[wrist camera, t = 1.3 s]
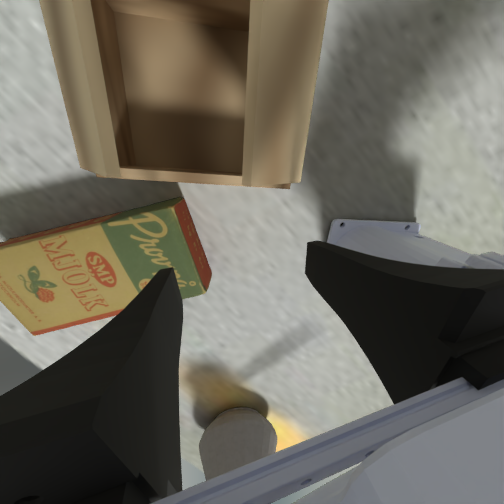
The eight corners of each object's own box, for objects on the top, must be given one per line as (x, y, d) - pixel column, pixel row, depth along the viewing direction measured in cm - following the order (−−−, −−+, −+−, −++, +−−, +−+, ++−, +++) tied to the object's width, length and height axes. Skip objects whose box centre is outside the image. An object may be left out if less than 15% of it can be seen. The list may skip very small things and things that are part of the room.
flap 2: (321, -16, 10) (331, -20, 10) (293, 181, 13) (300, 182, 13) (258, -164, 6) (274, -178, 5) (241, 184, 9) (250, 186, 9)
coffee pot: (219, 448, 35) (213, 628, 22) (188, 414, 31) (154, 616, 17) (337, 410, 34) (409, 575, 21) (323, 368, 29) (404, 547, 16)
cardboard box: (291, 31, 14) (319, -29, 10) (275, 182, 18) (289, 188, 14) (106, 2, 13) (39, -83, 8) (132, 172, 17) (96, 177, 12)
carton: (12, 236, 18) (-47, 255, 14) (185, 194, 18) (173, 202, 14) (66, 308, 22) (30, 339, 18) (212, 272, 22) (209, 296, 18)
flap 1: (52, -219, 5) (21, -248, 5) (121, 177, 9) (107, 177, 8) (37, -68, 8) (20, -79, 8) (91, 168, 12) (80, 167, 12)
